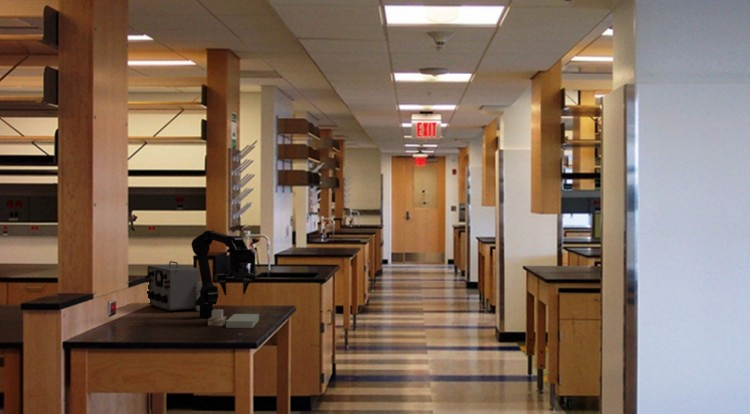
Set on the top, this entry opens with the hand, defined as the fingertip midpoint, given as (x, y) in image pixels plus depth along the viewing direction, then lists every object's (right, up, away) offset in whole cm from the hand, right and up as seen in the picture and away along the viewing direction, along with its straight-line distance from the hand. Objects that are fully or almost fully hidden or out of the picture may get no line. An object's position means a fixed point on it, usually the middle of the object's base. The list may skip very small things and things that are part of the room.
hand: (234, 294), depth 357 cm
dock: (+5, -13, -7) cm, 15 cm away
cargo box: (-7, -10, -7) cm, 14 cm away
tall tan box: (-7, -13, -7) cm, 16 cm away
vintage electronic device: (-42, -12, +41) cm, 60 cm away
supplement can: (-23, -13, +34) cm, 43 cm away
